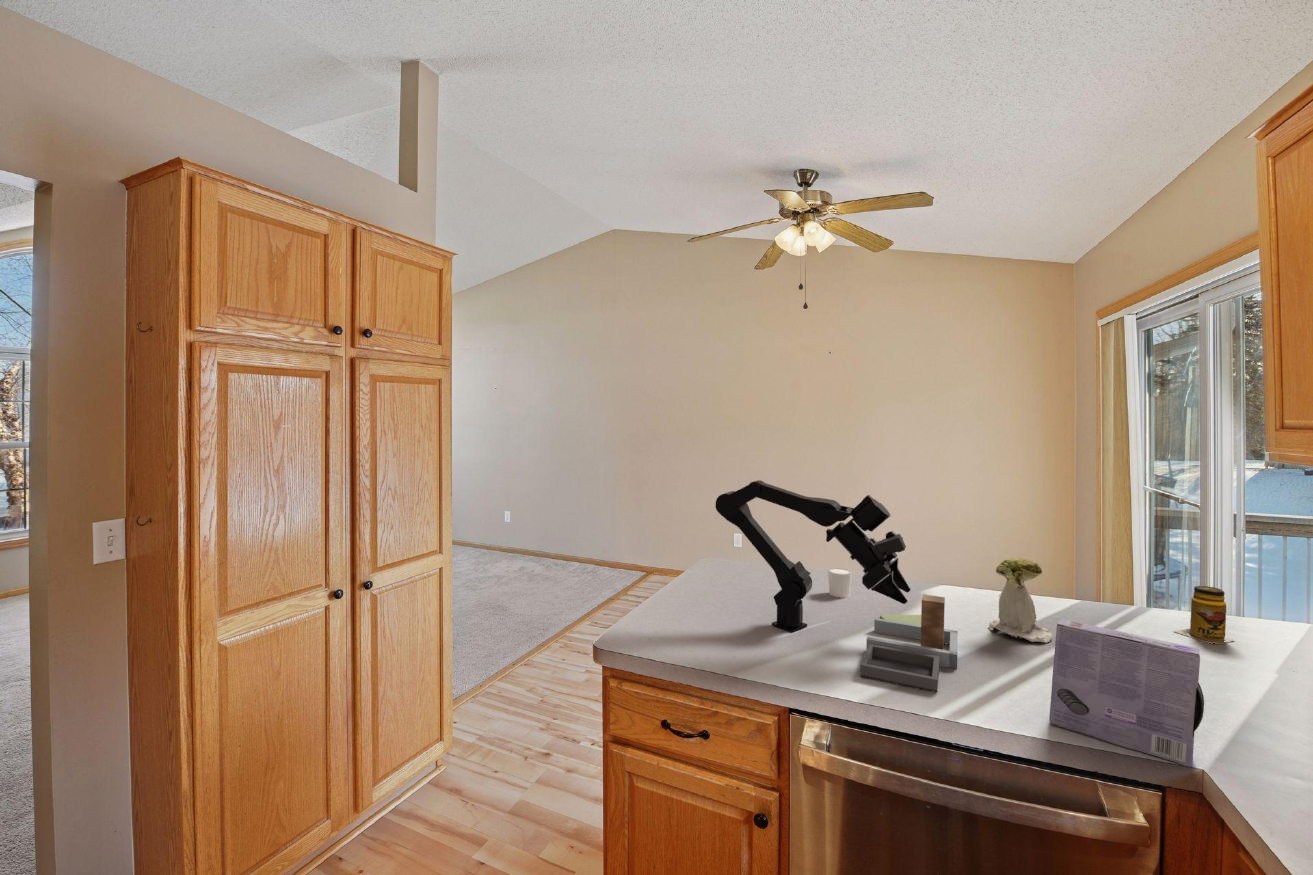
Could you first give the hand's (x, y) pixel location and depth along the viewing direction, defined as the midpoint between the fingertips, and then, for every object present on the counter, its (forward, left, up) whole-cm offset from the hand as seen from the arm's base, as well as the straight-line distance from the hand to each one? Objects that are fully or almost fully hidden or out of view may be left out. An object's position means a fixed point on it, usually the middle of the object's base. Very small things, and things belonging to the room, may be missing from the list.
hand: (907, 596), depth 131 cm
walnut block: (+2, -5, -12) cm, 13 cm away
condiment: (+61, -43, -12) cm, 75 cm away
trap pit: (-14, -5, -12) cm, 19 cm away
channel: (0, -1, -12) cm, 12 cm away
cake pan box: (-10, -41, -12) cm, 44 cm away
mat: (+14, +6, -12) cm, 19 cm away
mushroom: (+29, -14, -12) cm, 34 cm away
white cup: (+22, +31, -12) cm, 40 cm away
